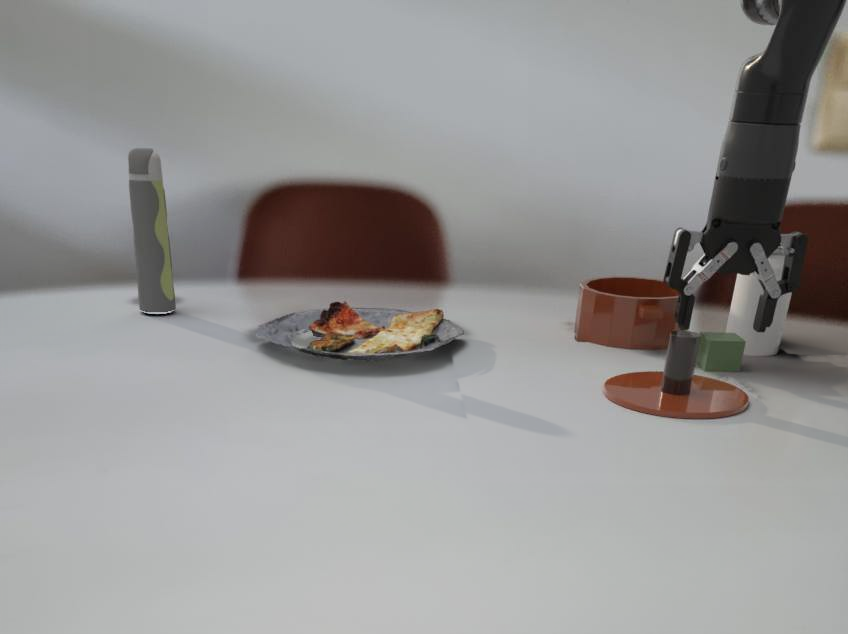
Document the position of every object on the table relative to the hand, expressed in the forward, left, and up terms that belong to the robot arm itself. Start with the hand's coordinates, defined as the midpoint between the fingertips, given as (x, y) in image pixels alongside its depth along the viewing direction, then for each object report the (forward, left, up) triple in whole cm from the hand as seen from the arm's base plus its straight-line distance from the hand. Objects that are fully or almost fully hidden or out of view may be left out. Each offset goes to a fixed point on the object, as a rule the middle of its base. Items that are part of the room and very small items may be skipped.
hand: (720, 329), depth 110 cm
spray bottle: (+69, -24, -5) cm, 73 cm away
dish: (+7, -14, -5) cm, 16 cm away
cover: (+8, +12, -4) cm, 15 cm away
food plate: (+41, -8, -5) cm, 42 cm away
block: (0, 0, -5) cm, 5 cm away
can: (-7, -8, -5) cm, 12 cm away
